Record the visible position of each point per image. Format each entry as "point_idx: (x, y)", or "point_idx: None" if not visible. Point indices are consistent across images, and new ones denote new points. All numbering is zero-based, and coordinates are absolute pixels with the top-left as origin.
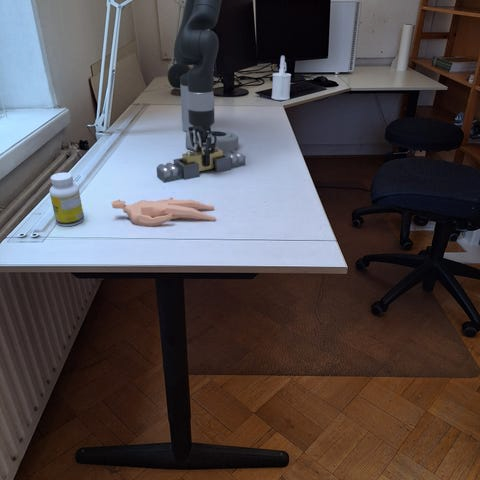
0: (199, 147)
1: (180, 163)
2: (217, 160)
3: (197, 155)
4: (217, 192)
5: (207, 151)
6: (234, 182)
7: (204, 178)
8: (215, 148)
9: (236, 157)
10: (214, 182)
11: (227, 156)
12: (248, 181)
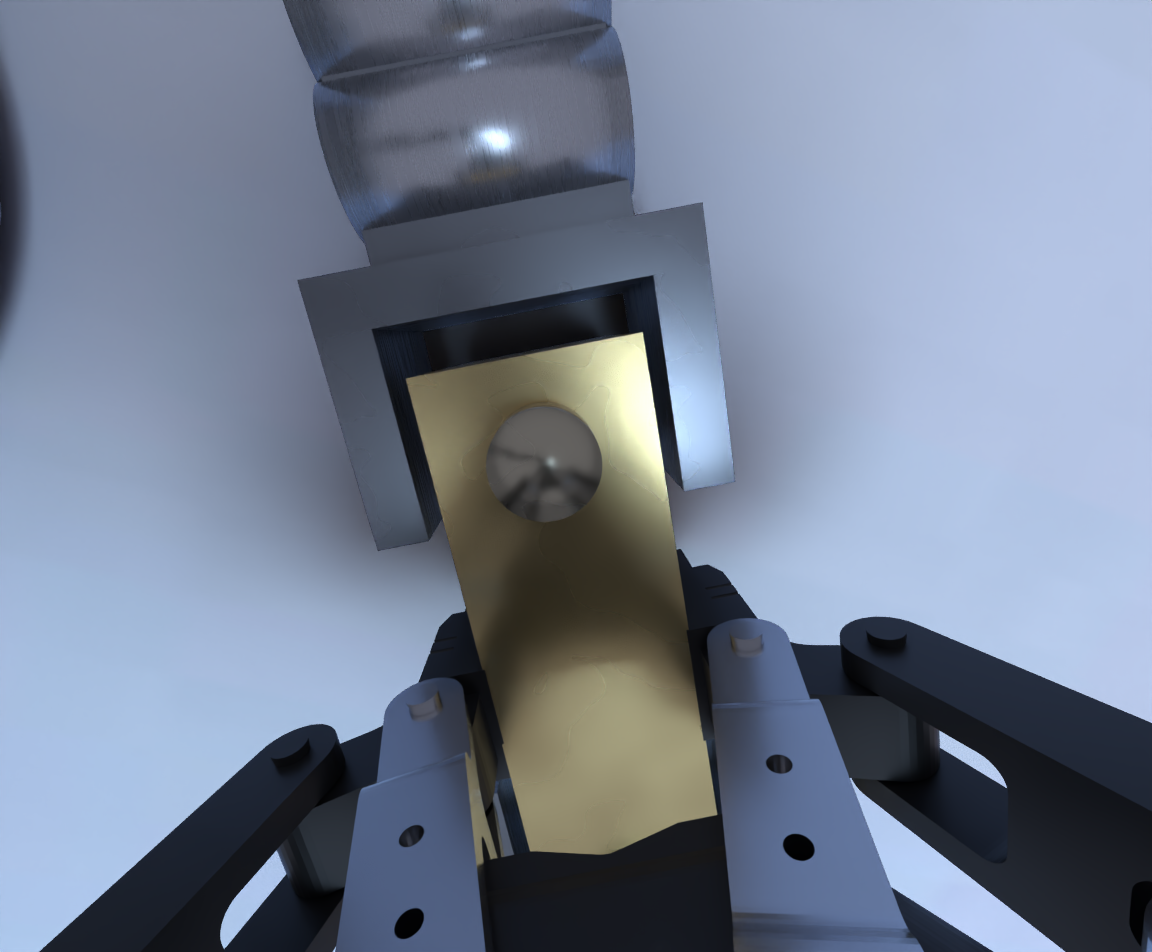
0: (478, 774)
1: None
2: (731, 465)
3: (713, 811)
4: (1142, 590)
5: (980, 794)
6: (1026, 350)
7: (780, 609)
8: (597, 486)
9: (617, 61)
10: (920, 548)
11: (635, 246)
12: (1087, 176)
